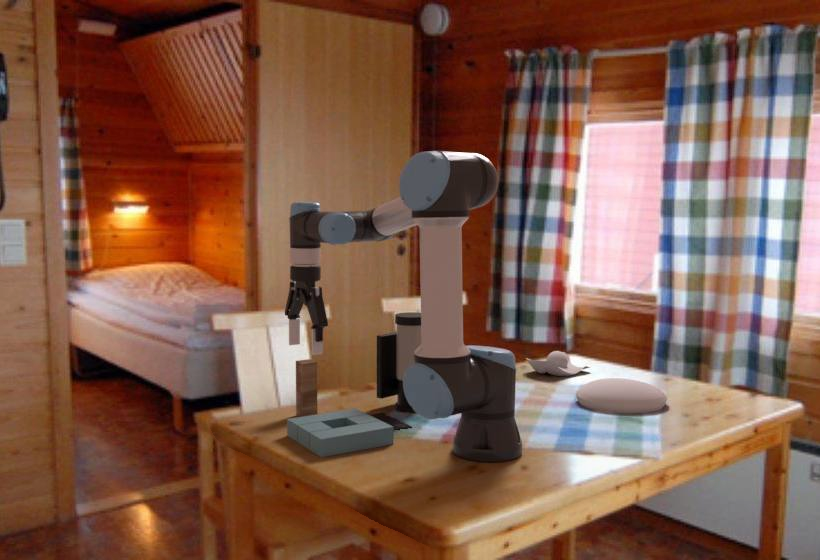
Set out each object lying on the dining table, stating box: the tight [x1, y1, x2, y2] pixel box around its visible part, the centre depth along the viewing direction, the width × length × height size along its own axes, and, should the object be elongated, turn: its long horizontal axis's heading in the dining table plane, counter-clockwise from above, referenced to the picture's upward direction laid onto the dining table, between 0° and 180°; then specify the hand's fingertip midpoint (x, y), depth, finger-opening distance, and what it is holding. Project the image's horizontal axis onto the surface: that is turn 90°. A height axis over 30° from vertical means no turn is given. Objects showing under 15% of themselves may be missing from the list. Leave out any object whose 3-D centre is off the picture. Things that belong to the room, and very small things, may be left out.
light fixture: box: [376, 311, 422, 414], centre depth 219 cm, size 12×11×25 cm
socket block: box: [286, 408, 395, 458], centre depth 192 cm, size 18×18×4 cm
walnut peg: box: [295, 358, 318, 417], centre depth 211 cm, size 4×4×14 cm
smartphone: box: [369, 412, 413, 431], centre depth 206 cm, size 7×1×15 cm
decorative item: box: [575, 377, 668, 414], centre depth 225 cm, size 24×7×20 cm
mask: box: [525, 350, 591, 377], centre depth 262 cm, size 20×8×15 cm
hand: (305, 349), depth 210 cm, fingers open, 13 cm apart
